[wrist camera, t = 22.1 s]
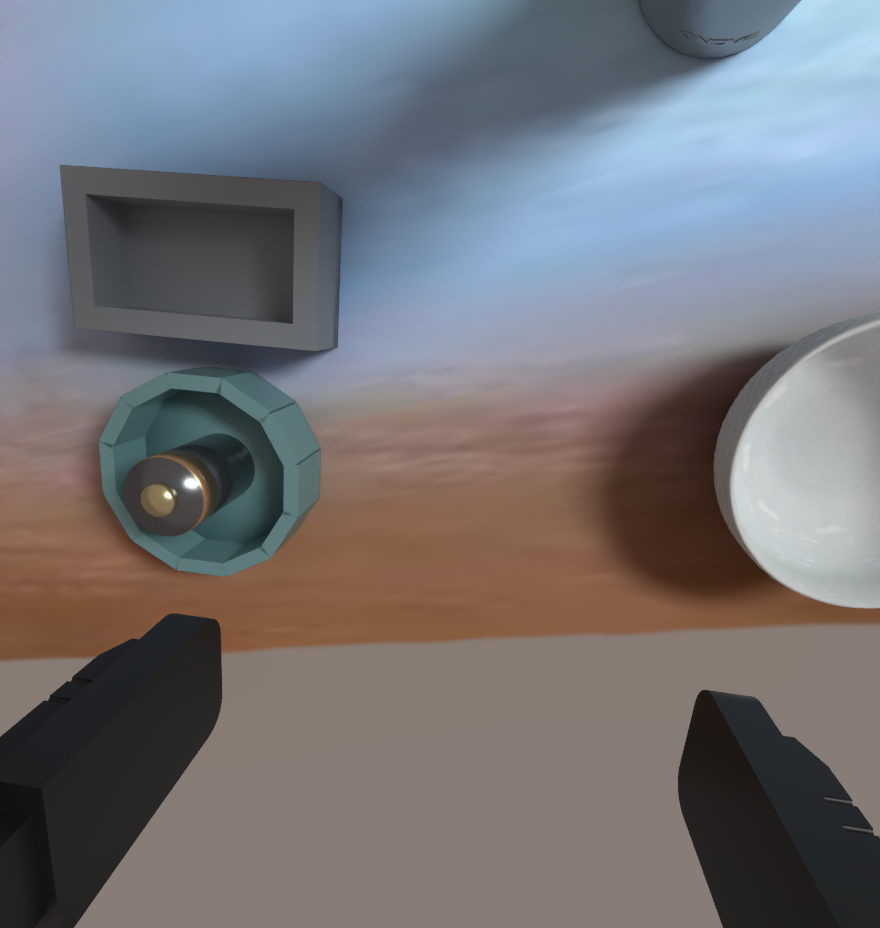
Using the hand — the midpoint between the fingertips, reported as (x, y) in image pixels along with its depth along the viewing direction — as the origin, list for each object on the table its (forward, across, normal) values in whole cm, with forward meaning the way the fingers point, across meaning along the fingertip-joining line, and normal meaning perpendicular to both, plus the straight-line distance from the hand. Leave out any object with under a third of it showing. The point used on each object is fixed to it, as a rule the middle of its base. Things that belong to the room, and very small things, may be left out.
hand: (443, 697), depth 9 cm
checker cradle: (+30, +19, -8) cm, 36 cm away
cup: (+30, +19, +6) cm, 36 cm away
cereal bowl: (+30, -22, 0) cm, 38 cm away
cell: (+29, +19, +6) cm, 35 cm away
